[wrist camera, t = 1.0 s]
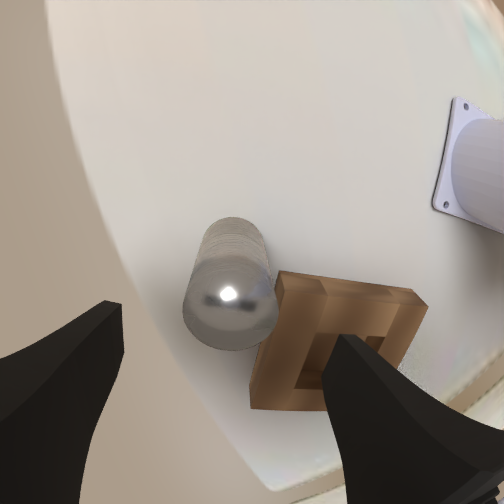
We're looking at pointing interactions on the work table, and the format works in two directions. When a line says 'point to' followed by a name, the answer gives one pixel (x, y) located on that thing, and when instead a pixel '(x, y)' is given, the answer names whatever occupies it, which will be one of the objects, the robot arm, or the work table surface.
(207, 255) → the pin
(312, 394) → the socket block
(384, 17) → the work table surface
